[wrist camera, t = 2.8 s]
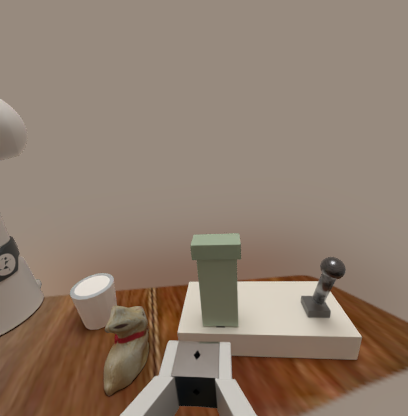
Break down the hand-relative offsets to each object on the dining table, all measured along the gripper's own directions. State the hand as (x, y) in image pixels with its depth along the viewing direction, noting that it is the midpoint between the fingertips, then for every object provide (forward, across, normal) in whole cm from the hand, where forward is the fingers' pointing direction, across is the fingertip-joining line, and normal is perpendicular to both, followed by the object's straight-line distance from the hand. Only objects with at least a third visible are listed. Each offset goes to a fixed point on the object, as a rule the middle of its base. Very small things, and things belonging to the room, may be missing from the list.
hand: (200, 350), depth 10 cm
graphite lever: (+19, -14, +14) cm, 27 cm away
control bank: (+20, -6, +20) cm, 29 cm away
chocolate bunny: (+13, +13, +20) cm, 27 cm away
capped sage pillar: (+17, 0, +15) cm, 23 cm away
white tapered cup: (+21, +22, +20) cm, 36 cm away
